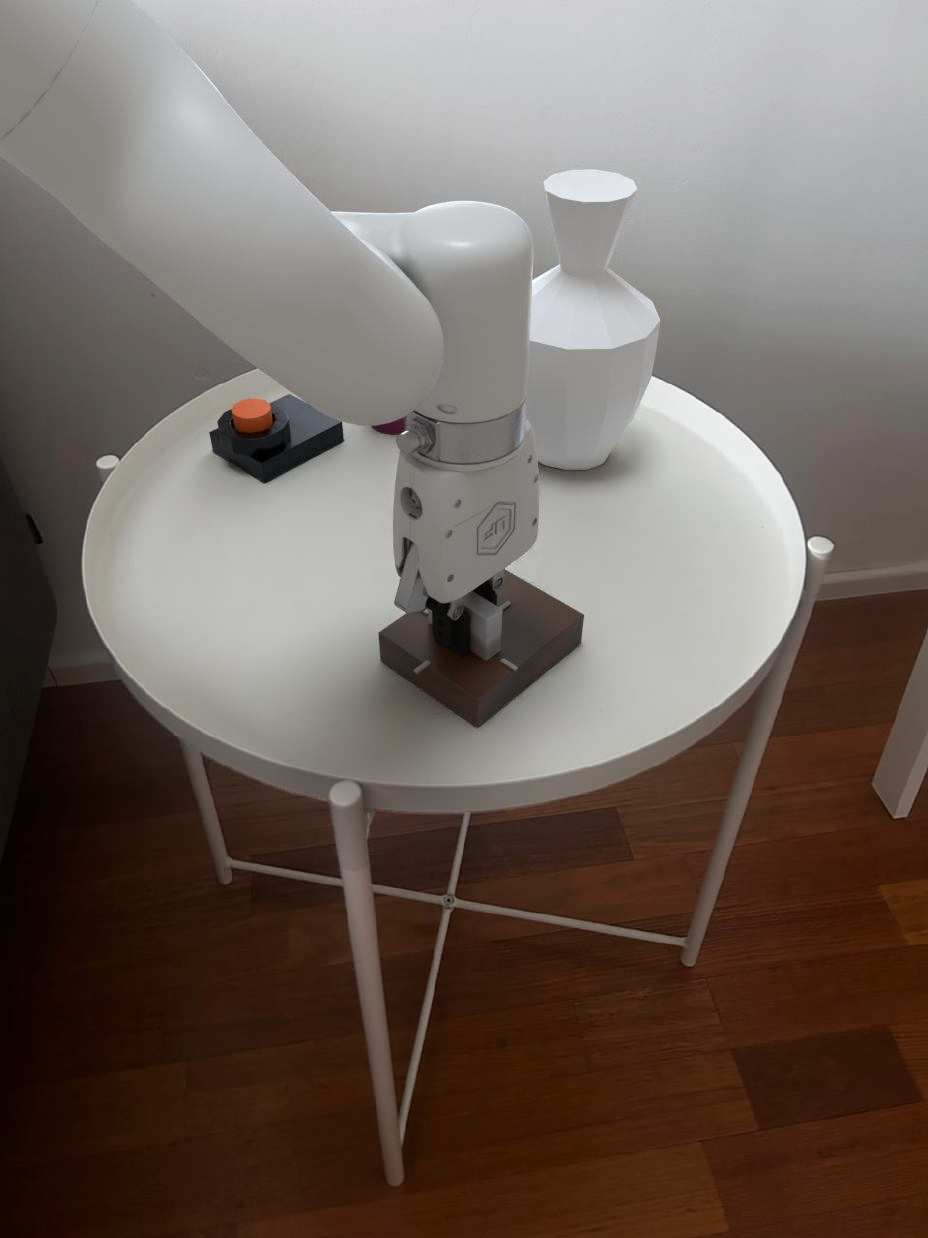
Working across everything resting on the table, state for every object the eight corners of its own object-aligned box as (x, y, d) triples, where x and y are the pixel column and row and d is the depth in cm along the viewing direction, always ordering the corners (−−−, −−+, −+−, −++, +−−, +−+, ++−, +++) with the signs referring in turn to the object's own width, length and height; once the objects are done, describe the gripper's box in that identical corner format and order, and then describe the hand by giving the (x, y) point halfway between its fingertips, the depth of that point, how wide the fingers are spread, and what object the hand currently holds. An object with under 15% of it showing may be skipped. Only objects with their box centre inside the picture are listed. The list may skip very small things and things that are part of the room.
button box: (258, 486, 94) (252, 450, 91) (206, 454, 98) (198, 418, 95) (344, 441, 100) (341, 405, 97) (291, 412, 104) (287, 377, 101)
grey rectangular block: (501, 650, 73) (503, 606, 70) (486, 661, 72) (487, 617, 69) (443, 612, 76) (442, 568, 73) (427, 622, 75) (426, 578, 73)
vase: (465, 450, 98) (466, 186, 81) (555, 396, 106) (573, 144, 89) (581, 509, 91) (609, 233, 74) (669, 445, 99) (712, 183, 82)
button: (250, 438, 93) (247, 422, 92) (226, 424, 95) (223, 408, 94) (280, 423, 95) (278, 407, 94) (256, 410, 97) (254, 394, 96)
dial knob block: (467, 738, 71) (468, 707, 69) (368, 668, 76) (365, 637, 74) (582, 643, 78) (585, 613, 76) (484, 585, 83) (485, 555, 81)
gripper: (414, 498, 56) (423, 721, 68) (593, 391, 64) (572, 607, 77) (325, 447, 60) (349, 667, 72) (505, 353, 68) (498, 565, 81)
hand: (464, 635), depth 74 cm, fingers closed
